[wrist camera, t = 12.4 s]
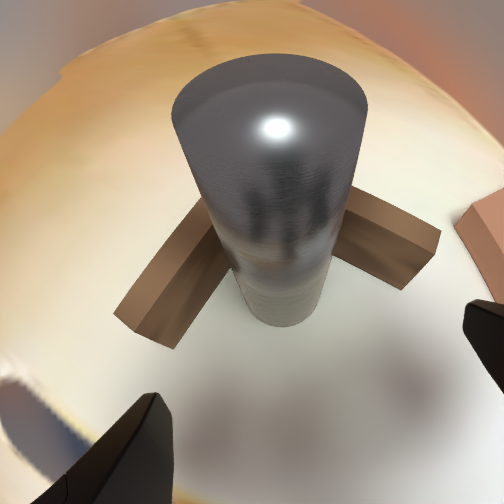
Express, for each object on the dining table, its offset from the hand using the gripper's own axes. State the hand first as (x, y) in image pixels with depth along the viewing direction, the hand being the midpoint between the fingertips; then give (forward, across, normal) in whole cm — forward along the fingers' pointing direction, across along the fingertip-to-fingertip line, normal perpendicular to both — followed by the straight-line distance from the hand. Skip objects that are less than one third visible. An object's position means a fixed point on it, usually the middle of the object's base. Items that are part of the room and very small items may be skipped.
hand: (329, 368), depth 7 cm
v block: (+12, 0, 0) cm, 12 cm away
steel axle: (+10, 0, +2) cm, 11 cm away
